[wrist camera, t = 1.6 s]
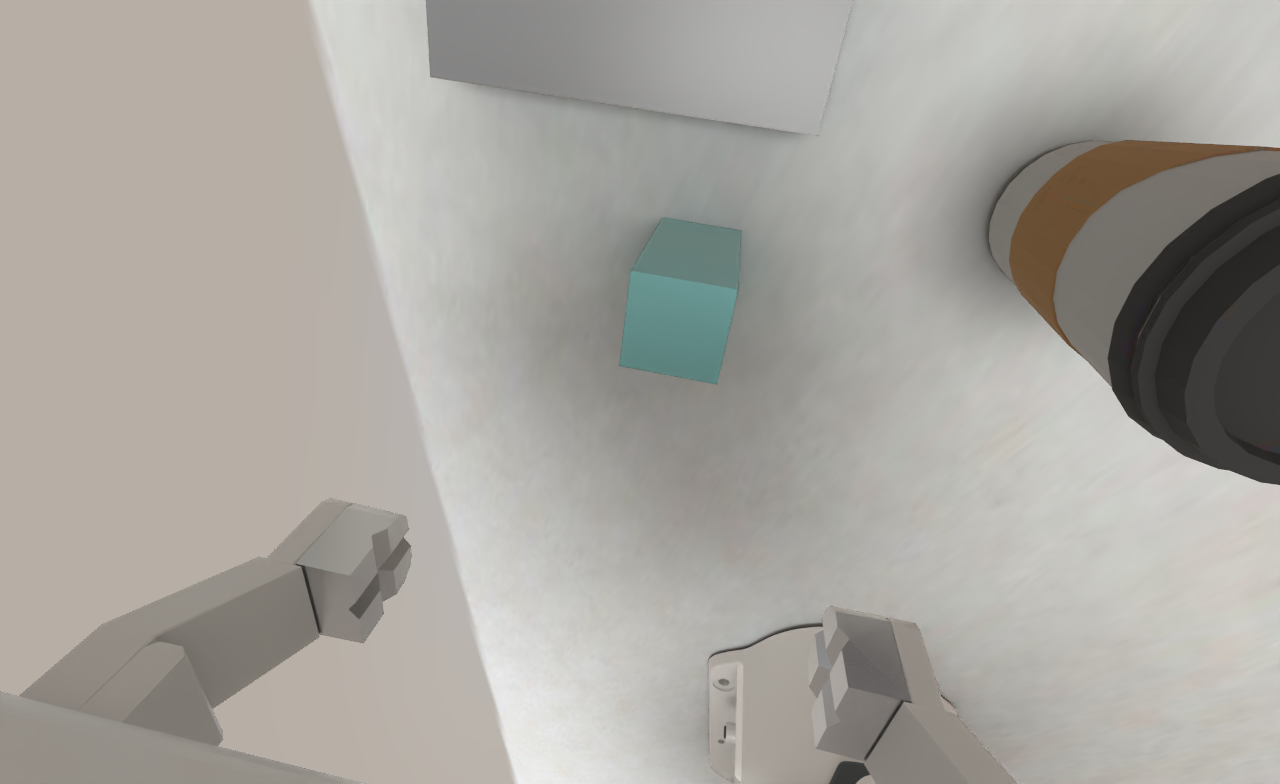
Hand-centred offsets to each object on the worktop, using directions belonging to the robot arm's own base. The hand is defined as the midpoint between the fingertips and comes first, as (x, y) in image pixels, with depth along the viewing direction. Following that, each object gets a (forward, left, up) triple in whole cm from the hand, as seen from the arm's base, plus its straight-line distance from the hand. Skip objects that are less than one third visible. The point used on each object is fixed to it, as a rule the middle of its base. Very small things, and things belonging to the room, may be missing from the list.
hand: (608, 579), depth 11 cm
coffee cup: (+5, -16, -22) cm, 27 cm away
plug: (0, 0, -22) cm, 22 cm away
